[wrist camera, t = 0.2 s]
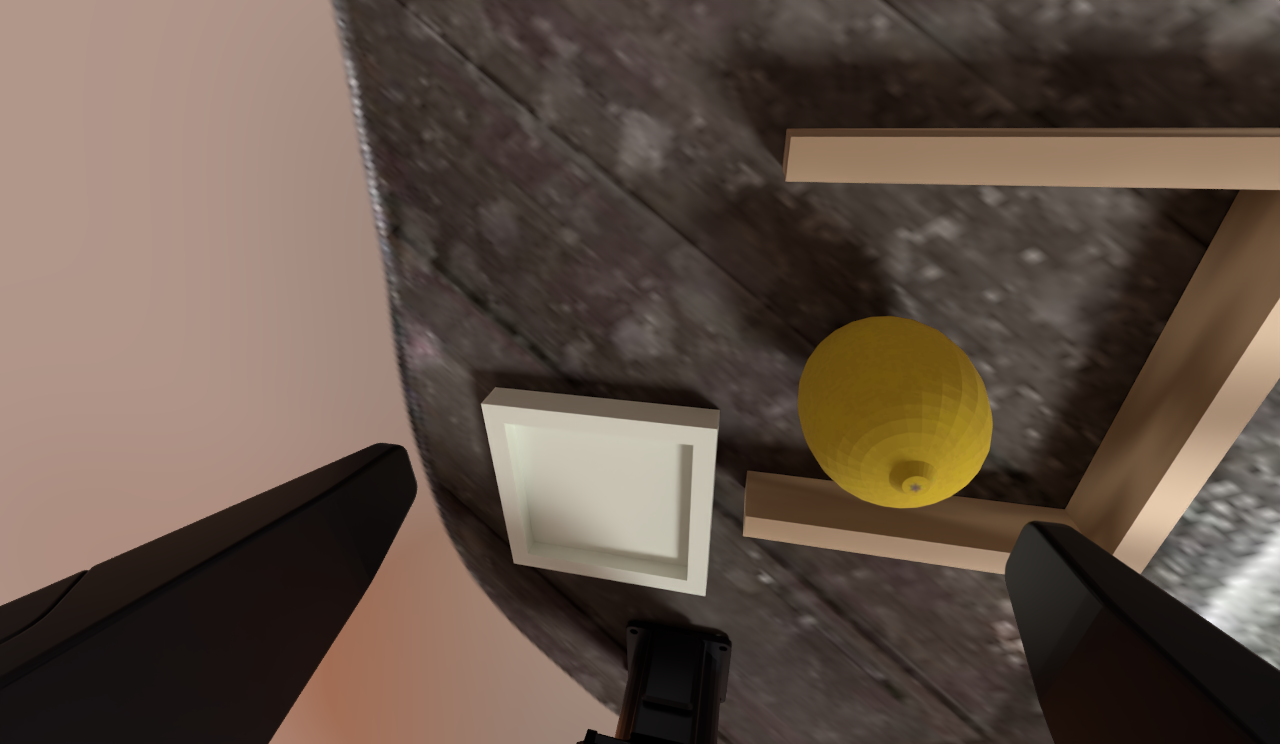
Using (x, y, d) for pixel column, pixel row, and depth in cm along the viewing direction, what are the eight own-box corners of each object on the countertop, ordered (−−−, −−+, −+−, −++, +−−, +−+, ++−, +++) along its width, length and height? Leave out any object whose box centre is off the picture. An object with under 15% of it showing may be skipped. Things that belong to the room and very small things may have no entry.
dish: (707, 572, 28) (705, 596, 27) (524, 543, 30) (514, 563, 29) (719, 410, 23) (717, 429, 22) (495, 387, 25) (480, 403, 24)
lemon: (775, 309, 20) (782, 426, 13) (930, 264, 18) (1032, 375, 11) (811, 421, 22) (832, 571, 15) (952, 391, 20) (1049, 549, 13)
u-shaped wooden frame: (1085, 533, 22) (1127, 592, 19) (745, 489, 25) (743, 535, 22) (1325, 127, 14) (1449, 137, 12) (786, 128, 17) (791, 136, 14)
